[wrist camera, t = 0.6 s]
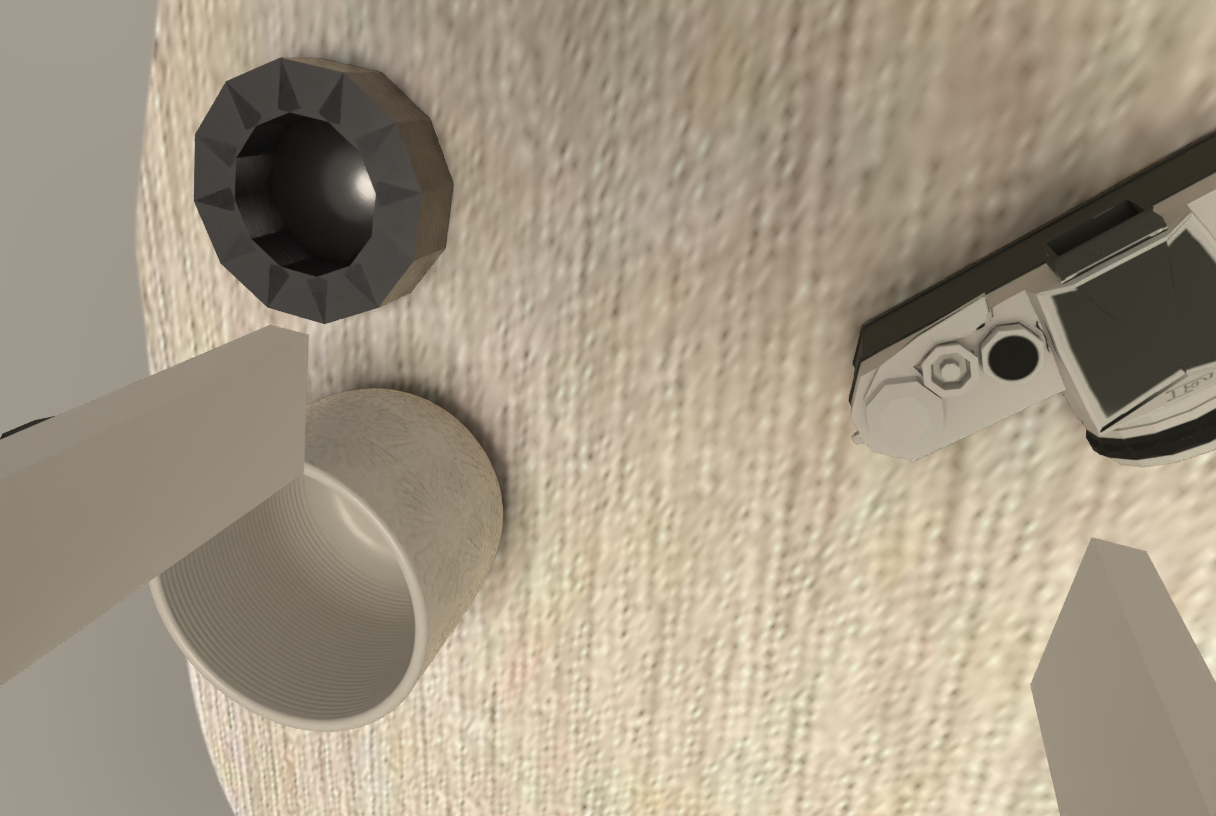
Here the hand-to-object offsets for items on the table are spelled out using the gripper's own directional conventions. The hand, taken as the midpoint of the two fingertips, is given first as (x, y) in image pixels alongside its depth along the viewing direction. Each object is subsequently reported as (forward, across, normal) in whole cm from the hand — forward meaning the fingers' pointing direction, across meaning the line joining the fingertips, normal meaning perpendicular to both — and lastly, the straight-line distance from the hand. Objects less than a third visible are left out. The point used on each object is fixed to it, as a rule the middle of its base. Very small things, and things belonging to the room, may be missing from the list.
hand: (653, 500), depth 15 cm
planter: (+24, -15, -15) cm, 32 cm away
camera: (+24, +11, 0) cm, 27 cm away
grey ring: (+24, -20, -2) cm, 31 cm away
